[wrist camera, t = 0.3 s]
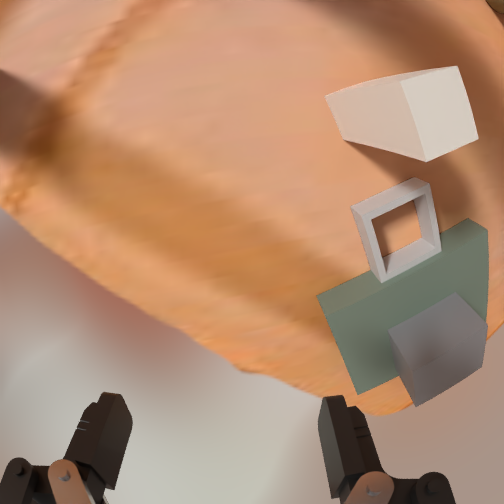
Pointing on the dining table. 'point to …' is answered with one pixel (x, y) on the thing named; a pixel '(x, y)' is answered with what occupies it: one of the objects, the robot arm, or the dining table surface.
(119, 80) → the dining table surface
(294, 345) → the dining table surface
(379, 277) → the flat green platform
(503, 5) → the squeeze bottle
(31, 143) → the dining table surface
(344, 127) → the tall white pillar block
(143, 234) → the dining table surface
